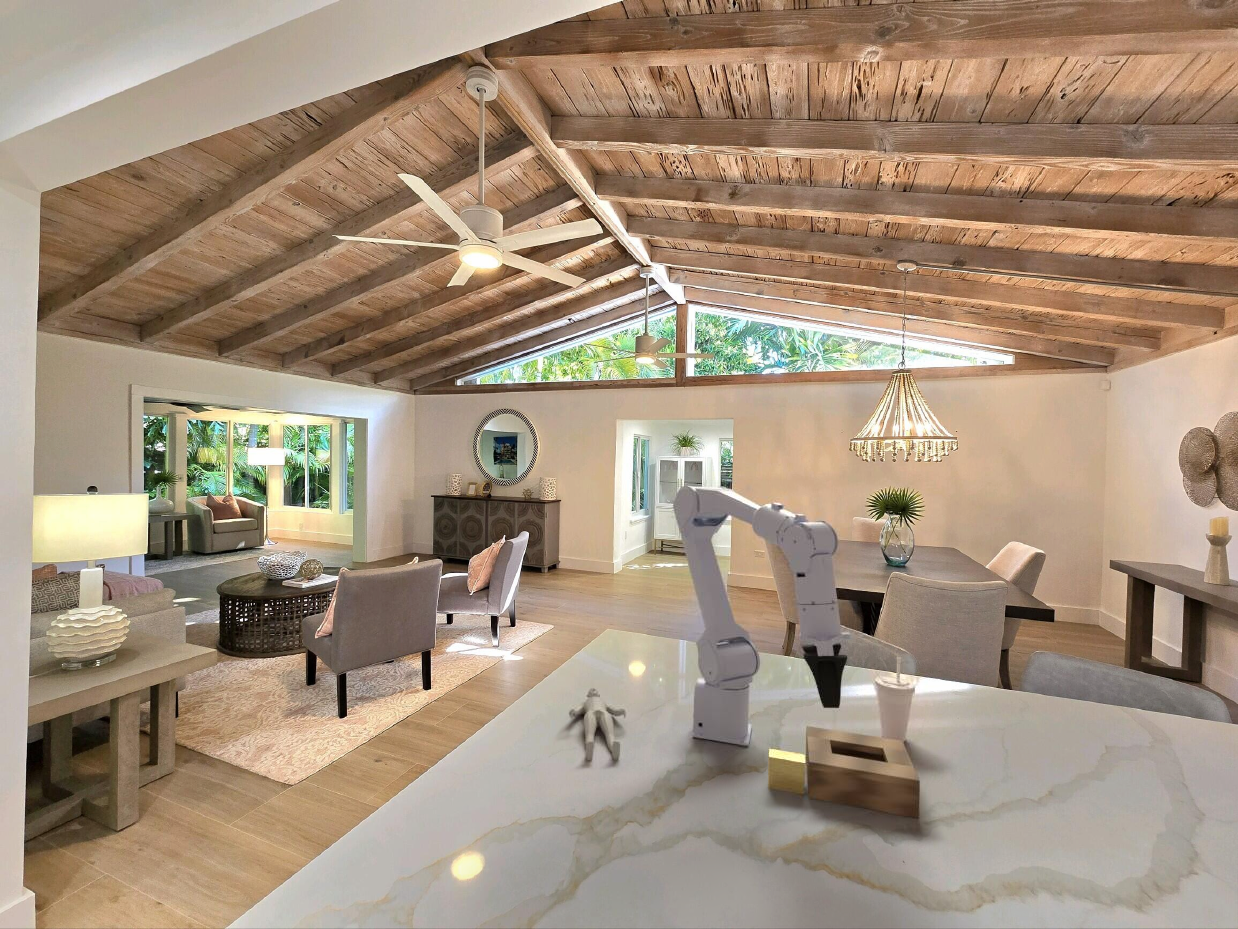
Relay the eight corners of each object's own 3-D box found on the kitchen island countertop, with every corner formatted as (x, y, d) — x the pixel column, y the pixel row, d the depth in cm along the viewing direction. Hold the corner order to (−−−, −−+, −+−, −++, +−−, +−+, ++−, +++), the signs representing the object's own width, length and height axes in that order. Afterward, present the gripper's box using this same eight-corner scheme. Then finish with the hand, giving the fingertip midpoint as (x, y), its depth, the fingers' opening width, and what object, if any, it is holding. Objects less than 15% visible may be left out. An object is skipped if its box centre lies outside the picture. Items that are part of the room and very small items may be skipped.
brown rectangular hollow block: (808, 797, 79) (809, 761, 79) (805, 757, 90) (806, 726, 90) (918, 818, 75) (919, 780, 75) (901, 773, 86) (902, 740, 86)
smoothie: (919, 748, 94) (921, 665, 95) (878, 743, 96) (880, 661, 96) (907, 731, 101) (909, 653, 101) (869, 727, 102) (871, 650, 102)
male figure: (571, 737, 87) (567, 684, 109) (570, 762, 87) (566, 704, 108) (635, 735, 88) (618, 683, 110) (634, 760, 88) (617, 703, 110)
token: (768, 788, 81) (768, 756, 81) (768, 779, 83) (769, 748, 83) (804, 794, 79) (805, 762, 80) (803, 785, 82) (804, 754, 82)
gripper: (851, 606, 74) (866, 714, 72) (841, 598, 88) (853, 689, 86) (796, 608, 76) (808, 713, 74) (794, 600, 90) (805, 689, 88)
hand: (829, 700), depth 80 cm, fingers open, 7 cm apart
